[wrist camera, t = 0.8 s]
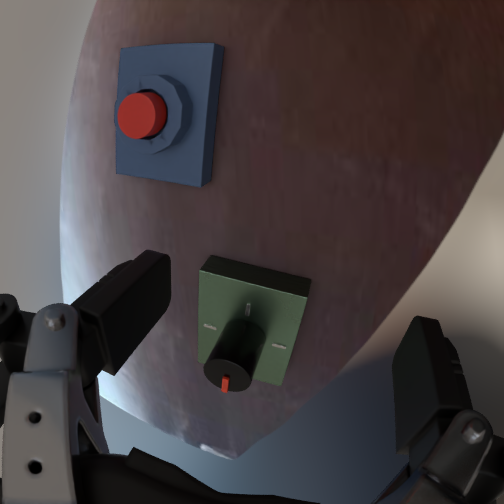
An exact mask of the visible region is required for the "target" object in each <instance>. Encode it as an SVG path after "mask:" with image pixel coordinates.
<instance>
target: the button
mask: <svg viewBox="0 0 504 504" xmlns="http://www.w3.org/2000/svg"><path fill="white" fill-rule="evenodd" d="M166 118H167V109H166V105H165V103H164V101H163V99H162V98H161V97H160V96H159V95H157V94H155V93H151V92H145V93H134V94H131V95H129V96H127V97H126V98H125V99H124V100H123V101H122V103H121V104H120V107H119V110H118V123H119V126H120V129H121V130H122V132H123V133H124V134H125V135H126V136H128V137H130V138H133V139H140V138H144V137H147V136H151V135H154V134H156V133H158V132H159V131H160V130H161V129H162V127H163V126H164V124H165V122H166Z"/></svg>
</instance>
